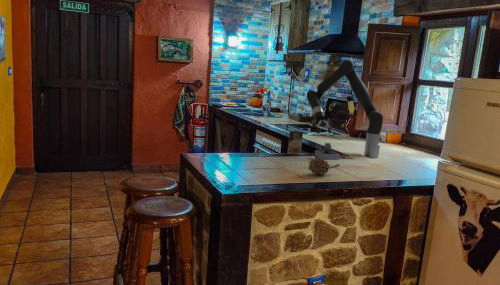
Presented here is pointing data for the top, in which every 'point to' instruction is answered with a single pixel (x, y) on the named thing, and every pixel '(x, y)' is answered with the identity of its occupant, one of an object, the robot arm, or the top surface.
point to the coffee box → (295, 142)
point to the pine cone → (320, 166)
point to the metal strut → (327, 148)
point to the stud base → (345, 156)
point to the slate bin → (326, 155)
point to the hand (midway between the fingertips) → (324, 132)
